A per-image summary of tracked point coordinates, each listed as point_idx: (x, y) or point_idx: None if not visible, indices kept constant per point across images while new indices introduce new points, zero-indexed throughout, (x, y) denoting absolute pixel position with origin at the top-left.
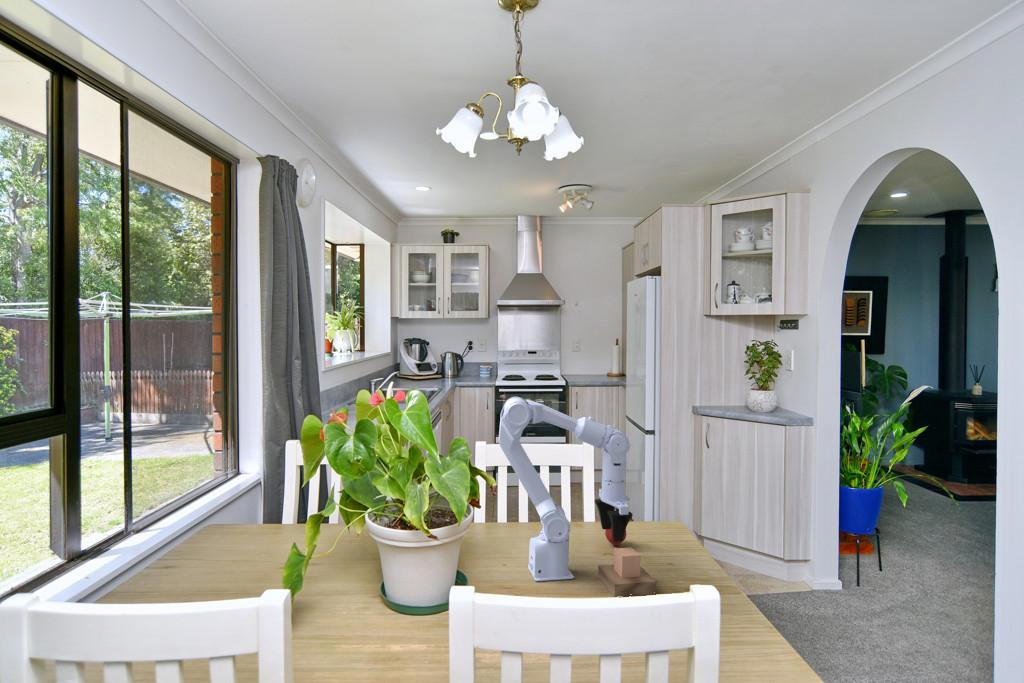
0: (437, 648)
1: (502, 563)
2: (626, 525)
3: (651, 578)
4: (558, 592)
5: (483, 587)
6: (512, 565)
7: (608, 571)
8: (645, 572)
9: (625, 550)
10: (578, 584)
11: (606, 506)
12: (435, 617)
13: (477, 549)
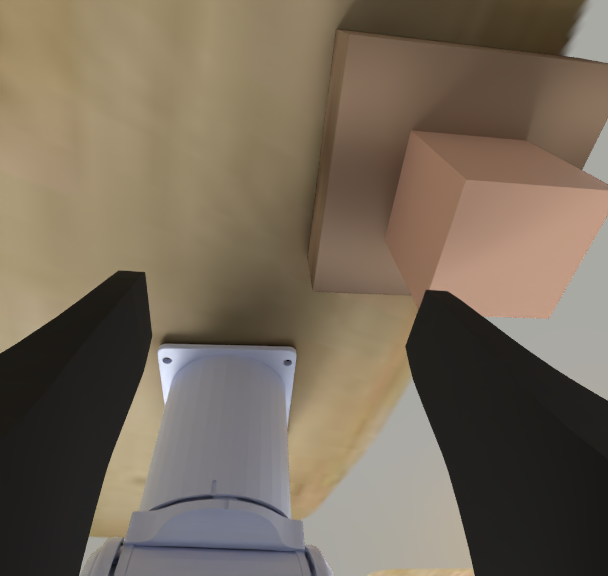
0: (469, 569)
1: (132, 484)
2: (583, 395)
3: (587, 77)
4: (369, 405)
5: None
6: (149, 467)
7: (393, 274)
8: (502, 66)
9: (485, 259)
10: (338, 342)
11: (34, 566)
12: (376, 571)
13: None
